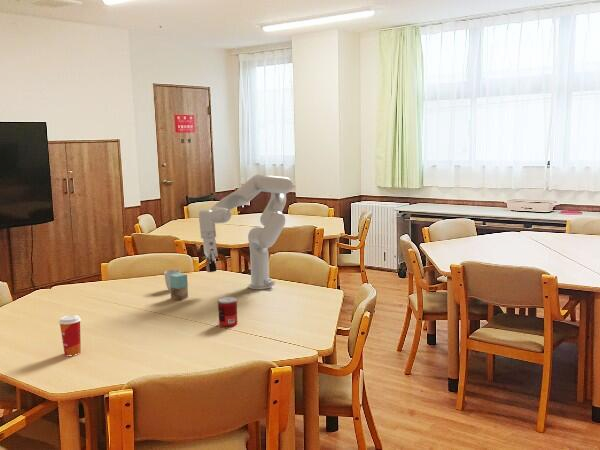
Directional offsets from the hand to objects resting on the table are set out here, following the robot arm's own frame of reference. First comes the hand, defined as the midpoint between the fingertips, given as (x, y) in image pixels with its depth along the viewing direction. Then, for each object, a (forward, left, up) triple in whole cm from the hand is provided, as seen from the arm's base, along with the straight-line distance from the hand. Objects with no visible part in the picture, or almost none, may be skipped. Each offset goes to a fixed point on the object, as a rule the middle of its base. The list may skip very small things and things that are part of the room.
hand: (211, 269), depth 303 cm
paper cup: (-4, +90, -13) cm, 91 cm away
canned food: (-36, +36, -13) cm, 53 cm away
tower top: (+11, +13, -7) cm, 18 cm away
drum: (0, 0, -1) cm, 1 cm away
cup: (+25, +2, -13) cm, 28 cm away
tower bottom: (+11, +13, -13) cm, 21 cm away
